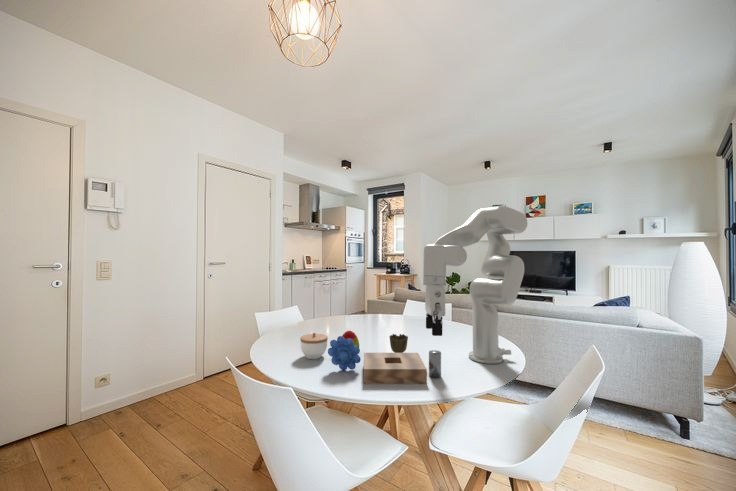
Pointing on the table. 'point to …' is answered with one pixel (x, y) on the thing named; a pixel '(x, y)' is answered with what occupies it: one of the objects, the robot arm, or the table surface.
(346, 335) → the decorative egg
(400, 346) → the cup
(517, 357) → the table surface
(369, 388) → the table surface
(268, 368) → the table surface
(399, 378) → the walnut block
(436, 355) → the steel peg
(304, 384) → the table surface
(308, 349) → the lidded jar
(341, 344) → the grapes
